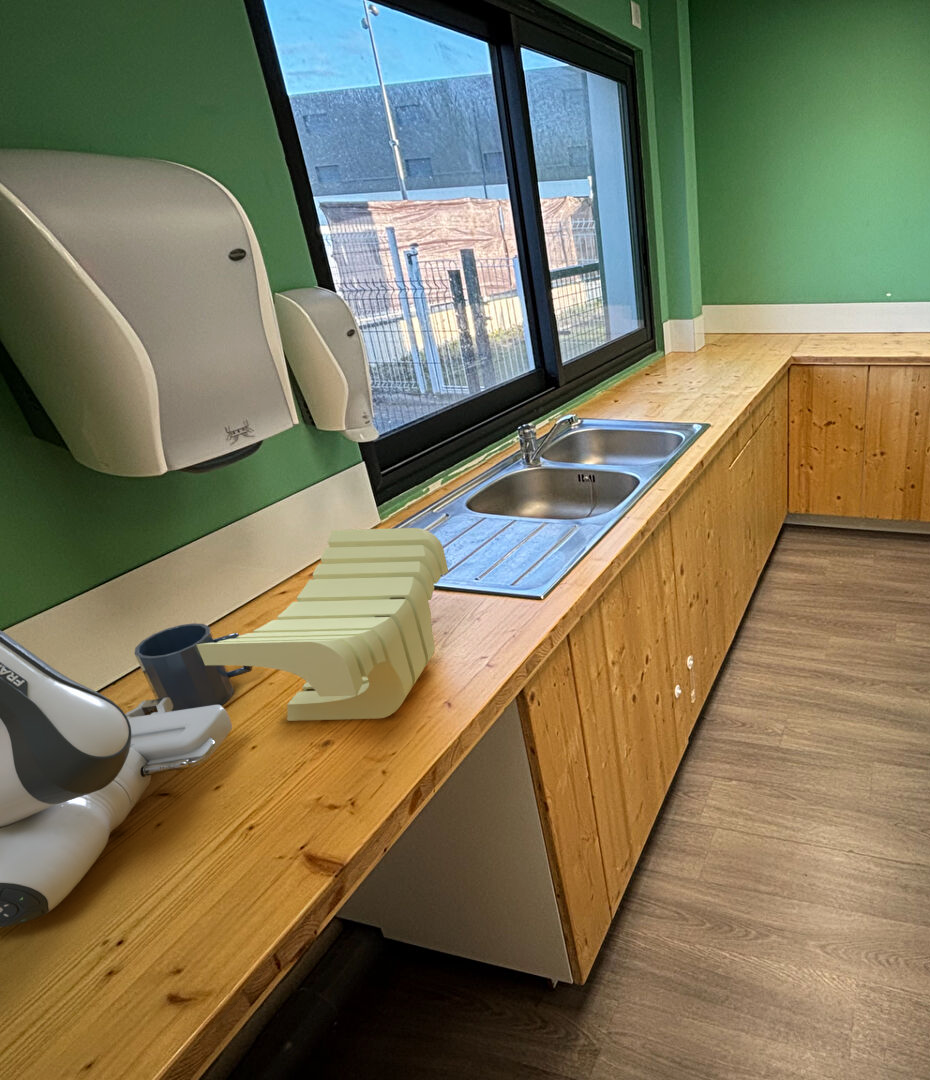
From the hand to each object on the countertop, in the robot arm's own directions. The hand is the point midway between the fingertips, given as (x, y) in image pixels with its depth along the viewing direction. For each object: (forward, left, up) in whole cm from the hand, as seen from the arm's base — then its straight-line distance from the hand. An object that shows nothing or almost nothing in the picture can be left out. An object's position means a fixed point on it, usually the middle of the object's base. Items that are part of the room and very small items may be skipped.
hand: (158, 703), depth 88 cm
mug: (+2, +8, -5) cm, 9 cm away
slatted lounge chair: (+23, +4, -5) cm, 24 cm away
